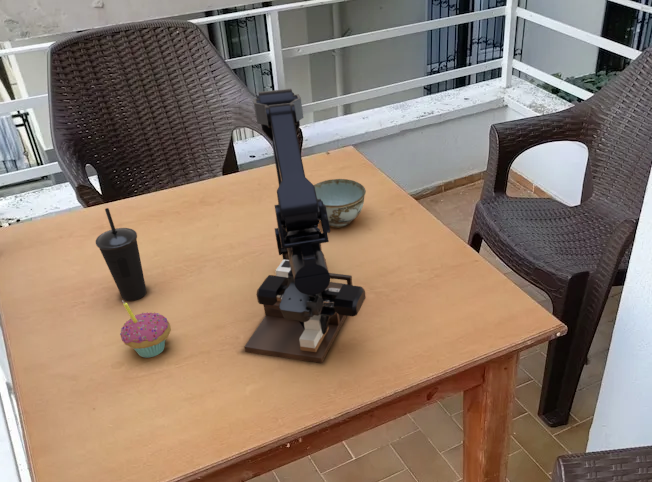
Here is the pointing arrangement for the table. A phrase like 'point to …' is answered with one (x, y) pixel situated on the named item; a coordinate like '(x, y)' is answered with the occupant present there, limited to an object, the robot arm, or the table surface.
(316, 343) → the white stacked box shape
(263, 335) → the shoe rack
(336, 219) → the bowl
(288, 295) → the robot arm
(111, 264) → the drinking cup
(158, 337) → the cupcake
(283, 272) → the white l-shaped block
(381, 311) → the table surface
